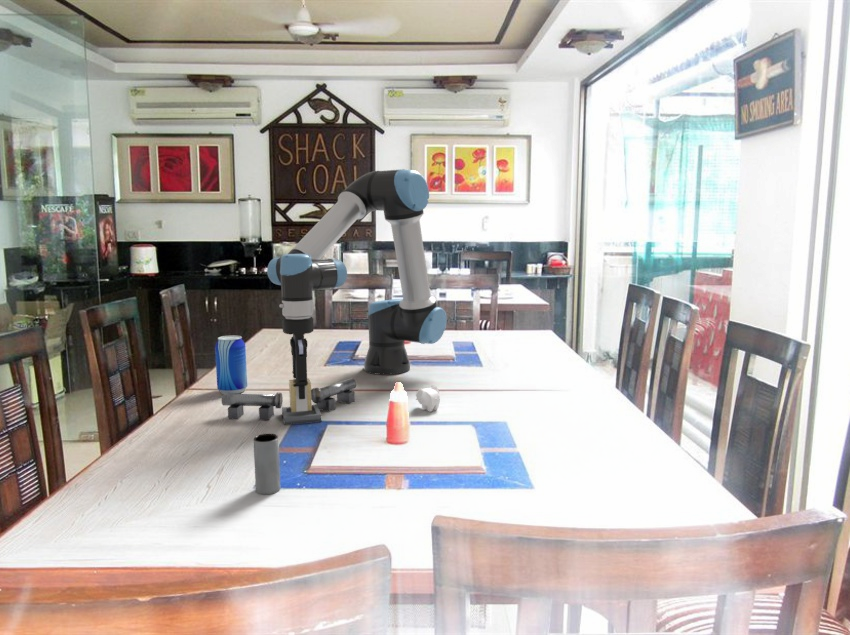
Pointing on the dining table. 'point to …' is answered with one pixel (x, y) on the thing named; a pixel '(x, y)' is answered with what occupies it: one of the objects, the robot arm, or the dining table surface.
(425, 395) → the elephant figurine
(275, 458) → the grey hollow tube
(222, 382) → the beer can
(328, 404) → the shaft
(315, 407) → the grey square tray
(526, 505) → the dining table surface
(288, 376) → the dining table surface
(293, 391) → the block
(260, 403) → the shaft
